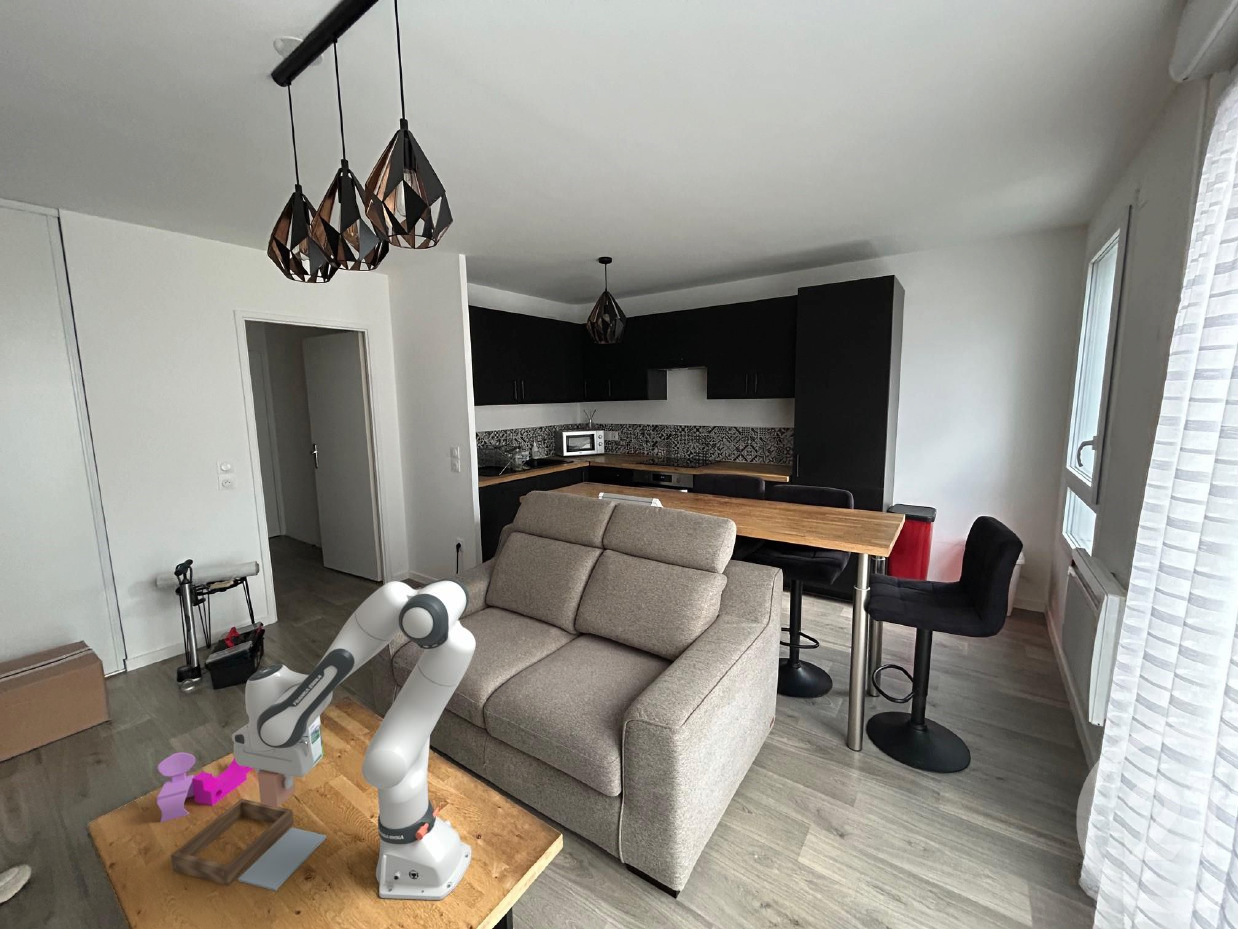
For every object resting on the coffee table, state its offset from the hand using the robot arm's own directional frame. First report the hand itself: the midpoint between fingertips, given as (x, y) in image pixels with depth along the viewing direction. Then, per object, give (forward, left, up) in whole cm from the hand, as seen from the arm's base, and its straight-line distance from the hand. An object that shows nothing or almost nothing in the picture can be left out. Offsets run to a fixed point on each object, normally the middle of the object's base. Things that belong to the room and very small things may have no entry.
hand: (276, 784), depth 124 cm
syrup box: (+22, -30, -21) cm, 43 cm away
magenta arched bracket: (+38, -17, -21) cm, 46 cm away
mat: (0, 0, -20) cm, 20 cm away
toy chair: (+43, -6, -21) cm, 48 cm away
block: (0, 0, -4) cm, 4 cm away
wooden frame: (+15, 0, -20) cm, 25 cm away
